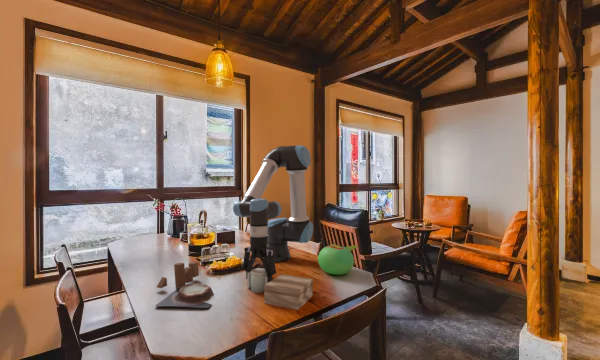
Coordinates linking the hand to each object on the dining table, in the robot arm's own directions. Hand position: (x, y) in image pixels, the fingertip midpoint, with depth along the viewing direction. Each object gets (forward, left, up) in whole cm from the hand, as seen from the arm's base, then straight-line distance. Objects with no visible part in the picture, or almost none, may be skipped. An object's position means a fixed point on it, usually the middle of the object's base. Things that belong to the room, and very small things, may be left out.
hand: (258, 288), depth 121 cm
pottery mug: (-13, -6, -1) cm, 14 cm away
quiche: (+18, -19, -1) cm, 26 cm away
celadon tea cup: (0, 0, 0) cm, 0 cm away
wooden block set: (+13, -32, 0) cm, 35 cm away
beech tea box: (+2, +16, -1) cm, 16 cm away
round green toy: (-35, +21, 0) cm, 41 cm away
